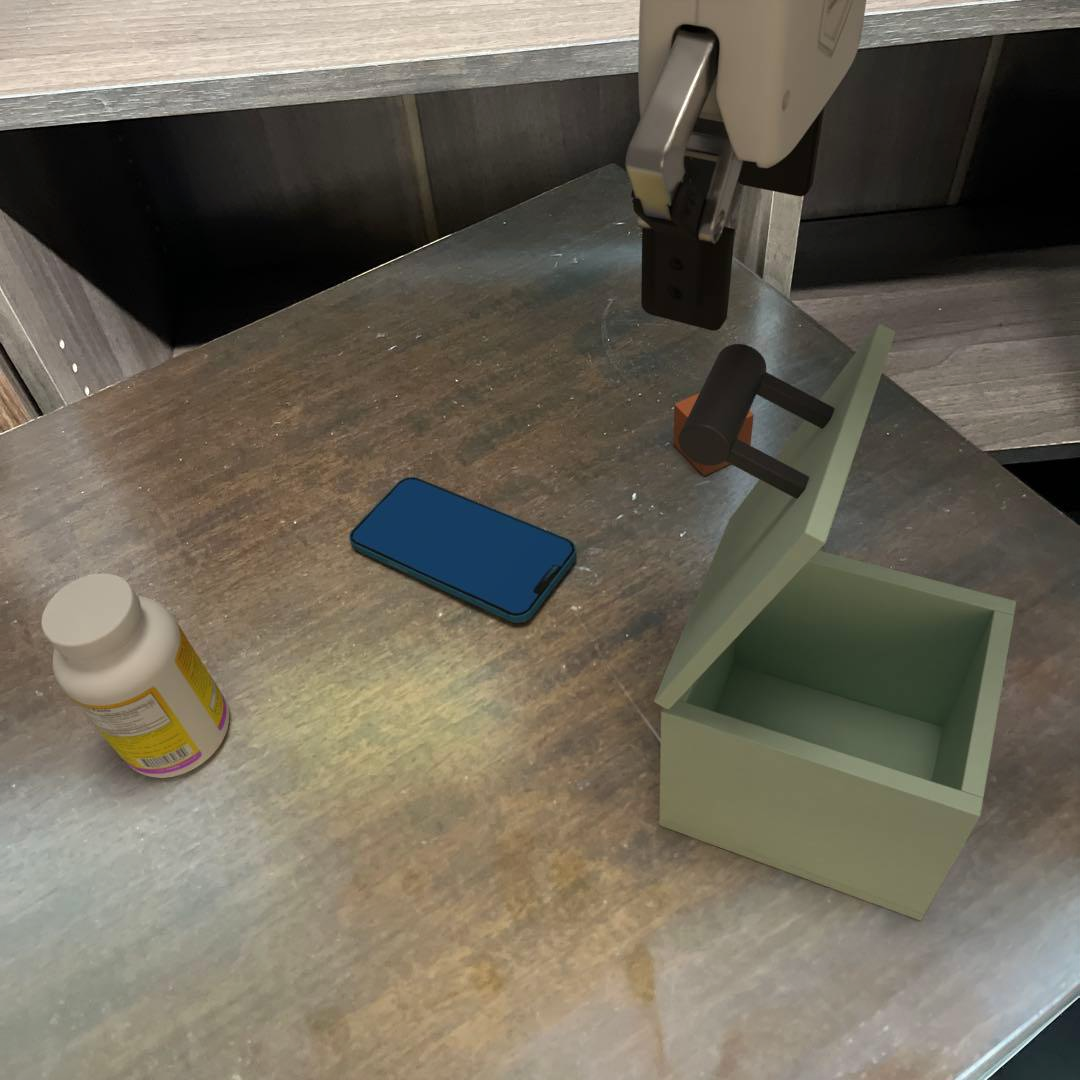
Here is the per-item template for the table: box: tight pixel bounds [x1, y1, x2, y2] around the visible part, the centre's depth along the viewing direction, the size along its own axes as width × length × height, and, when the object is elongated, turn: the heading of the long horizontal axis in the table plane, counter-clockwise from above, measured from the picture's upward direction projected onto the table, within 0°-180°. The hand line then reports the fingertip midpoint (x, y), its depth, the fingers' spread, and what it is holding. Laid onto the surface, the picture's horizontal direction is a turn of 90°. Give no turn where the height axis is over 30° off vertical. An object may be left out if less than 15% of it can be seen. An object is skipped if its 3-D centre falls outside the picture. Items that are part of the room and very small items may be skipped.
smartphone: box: [348, 476, 578, 624], centre depth 68 cm, size 7×1×15 cm
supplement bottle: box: [41, 572, 230, 779], centre depth 56 cm, size 7×7×13 cm
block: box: [672, 392, 755, 477], centre depth 71 cm, size 4×4×4 cm
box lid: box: [653, 322, 896, 709], centre depth 42 cm, size 15×12×6 cm
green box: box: [658, 549, 1017, 921], centre depth 51 cm, size 14×12×12 cm
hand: (731, 248), depth 40 cm, fingers open, 9 cm apart
